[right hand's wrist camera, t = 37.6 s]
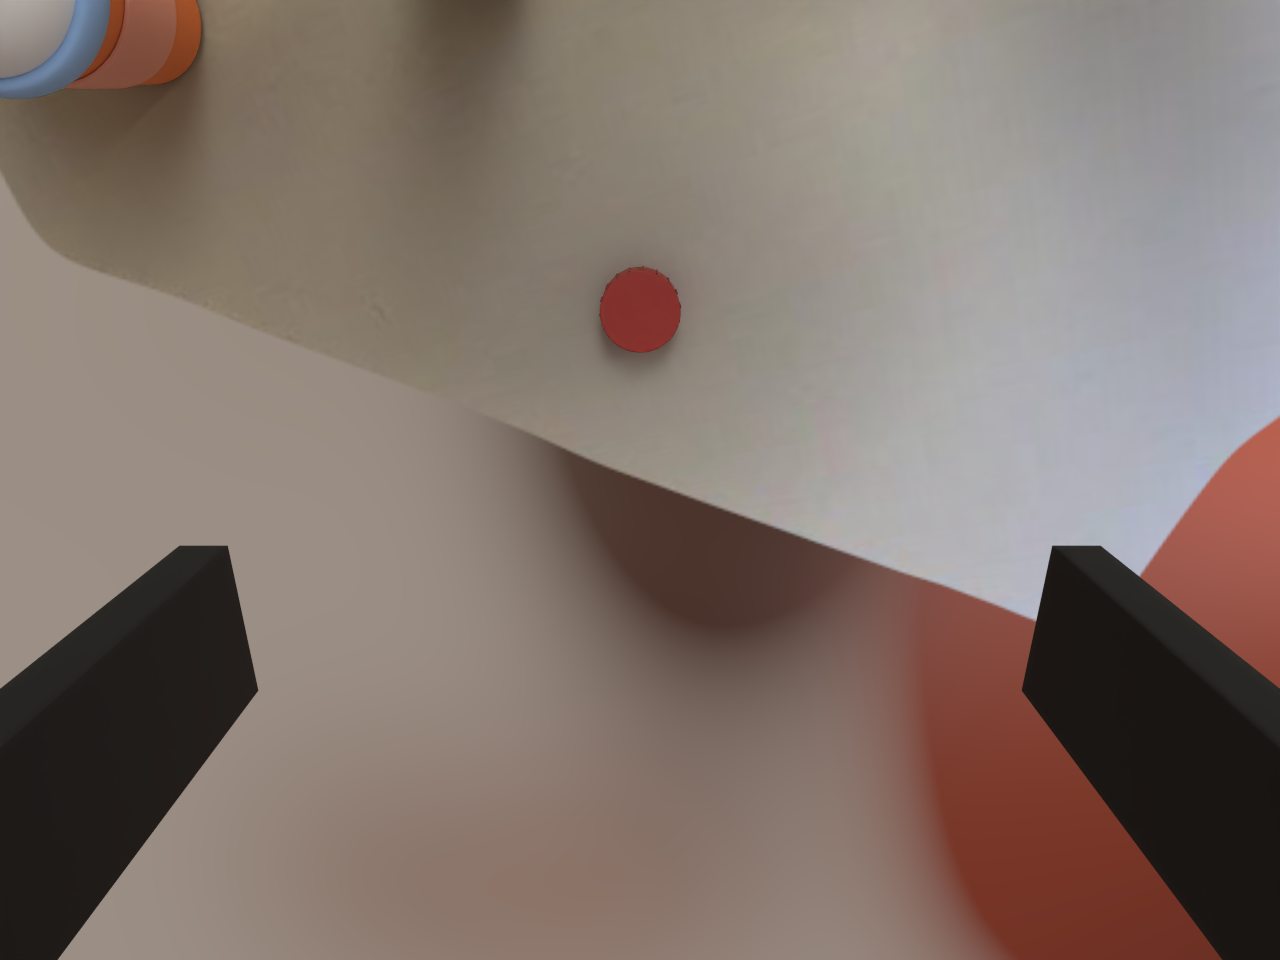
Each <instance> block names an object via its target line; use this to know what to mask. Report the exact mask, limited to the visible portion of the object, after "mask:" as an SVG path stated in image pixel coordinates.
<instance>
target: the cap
mask: <svg viewBox="0 0 1280 960" xmlns="http://www.w3.org/2000/svg"><path fill="white" fill-rule="evenodd" d="M677 294H678V293H677V290H676V289H674V287H673V285H672V284H671V282H670V281H669V278H666V277H665V276H664V275H663V274H661V273H659V272H658V270H653V269H650V268H644V266H643V267H636V268H631V269H630V268H629V269H627V270H625V271H623V272H621V273H619V274H616V276H615V277H614V278H613V279H612V280H611V282H610V283H609V284H607V286H606V289H605V292H604V295H603V296H602V297H601V301H600V302H601V306H600V317H601V322H602V326H603V329H604V330H605V332H606V334H607V335H608V337H609V338H610V339H611V340H612V341H613V342H614V343H615V344H616V345H618V346H619V347H621V348H623V349H625V350H628V351H631V352H649V351H653V350H655V349H658V348H659V347H661V346H663V345H664V344H665V343H667V342H668V341H669V340H670V339H671V337H672V336H673V335H674V333H675V331H676V329H677V327H678V324H679V322H680V308H681V305H680V302H679V299H678V296H677Z"/></svg>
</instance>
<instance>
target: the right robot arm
mask: <svg viewBox="0 0 1280 960" xmlns="http://www.w3.org/2000/svg"><path fill="white" fill-rule="evenodd" d="M257 691H258V687H257V682H256V678H255V673H254V668H253V663H252V659H251V654H250V649H249V644H248V640H247V635H246V630H245V626H244V621H243V616H242V611H241V607H240V602H239V597H238V593H237V588H236V583H235V578H234V574H233V569H232V564H231V559H230V555H229V550H228V546H179V547H177V548H176V549H175V550H174V551H172V552H171V553H170V554H169V555H167V556H166V557H165V558H164V559H162V560H161V561H160V562H159V563H157V564H156V565H155V566H154V567H152V568H151V569H150V570H149V571H147V572H146V573H145V574H144V575H142V576H141V577H140V578H139V579H137V580H136V581H135V582H134V583H132V584H131V585H130V586H128V587H127V588H126V589H125V590H124V591H122V592H121V593H120V594H118V595H117V596H116V597H115V598H113V599H112V600H111V601H110V602H108V603H107V604H106V605H105V606H103V607H102V608H101V609H100V610H98V611H97V612H96V613H95V614H93V615H92V616H91V617H90V618H88V619H87V620H86V621H85V622H83V623H82V624H81V625H80V626H78V627H77V628H76V629H75V630H73V631H72V632H71V633H70V634H68V635H67V636H66V637H65V638H63V639H62V640H61V641H60V642H58V643H57V644H56V645H55V646H53V647H52V648H51V649H50V650H48V651H47V652H46V653H45V654H43V655H42V656H41V657H39V658H38V659H37V660H36V661H34V662H33V663H32V664H31V665H29V666H28V667H27V668H26V669H24V670H23V671H22V672H21V673H19V674H18V675H17V676H16V677H14V678H13V679H12V680H11V681H9V682H8V683H7V684H6V685H4V686H3V687H2V688H1V689H0V960H58V958H59V957H60V956H61V954H62V953H63V952H64V950H65V949H66V948H67V946H68V945H69V944H70V942H71V941H72V940H73V938H74V937H75V936H76V934H77V933H78V932H79V930H80V929H81V928H82V926H83V925H84V924H85V922H86V921H87V920H88V918H89V917H90V915H91V914H92V913H93V911H94V910H95V909H96V907H97V906H98V905H99V903H100V902H101V901H102V899H103V898H104V897H105V895H106V894H107V893H108V891H109V890H110V889H111V887H112V886H113V885H114V883H115V882H116V881H117V879H118V878H119V877H120V875H121V874H122V873H123V871H124V870H125V869H126V867H127V866H128V864H129V863H130V862H131V860H132V859H133V858H134V856H135V855H136V854H137V852H138V851H139V850H140V848H141V847H142V846H143V844H144V843H145V842H146V840H147V839H148V838H149V836H150V835H151V834H152V832H153V831H154V830H155V828H156V827H157V826H158V824H159V823H160V822H161V820H162V819H163V817H164V816H165V815H166V814H167V812H168V811H169V809H170V808H171V807H172V805H173V804H174V803H175V801H176V800H177V799H178V797H179V796H180V795H181V793H182V792H183V791H184V789H185V788H186V787H187V785H188V784H189V783H190V781H191V780H192V779H193V777H194V776H195V775H196V773H197V772H198V771H199V769H200V768H201V766H202V765H203V764H204V763H205V761H206V760H207V759H208V757H209V756H210V755H211V753H212V752H213V750H214V749H215V748H216V746H217V745H218V744H219V742H220V741H221V740H222V738H223V737H224V736H225V734H226V733H227V732H228V730H229V729H230V728H231V726H232V725H233V724H234V722H235V721H236V720H237V718H238V717H239V716H240V714H241V713H242V712H243V710H244V709H245V708H246V706H247V705H248V704H249V702H250V701H251V700H252V698H253V697H254V696H255V694H256V693H257ZM1022 691H1023V693H1024V694H1025V695H1026V697H1027V698H1028V699H1029V701H1030V702H1031V704H1032V705H1033V706H1034V708H1035V709H1036V710H1037V712H1038V713H1039V714H1040V716H1041V717H1042V718H1043V720H1044V721H1045V722H1046V723H1047V725H1048V726H1049V728H1050V729H1051V730H1052V732H1053V733H1054V734H1055V736H1056V737H1057V738H1058V740H1059V741H1060V742H1061V744H1062V745H1063V746H1064V748H1065V749H1066V750H1067V752H1068V753H1069V755H1070V756H1071V757H1072V759H1073V760H1074V761H1075V762H1076V764H1077V765H1078V766H1079V768H1080V769H1081V771H1082V772H1083V773H1084V775H1085V776H1086V777H1087V779H1088V780H1089V781H1090V783H1091V784H1092V785H1093V787H1094V788H1095V789H1096V791H1097V792H1098V793H1099V795H1100V796H1101V797H1102V799H1103V800H1104V801H1105V803H1106V804H1107V805H1108V807H1109V808H1110V810H1111V811H1112V812H1113V814H1114V815H1115V816H1116V818H1117V819H1118V820H1119V822H1120V823H1121V824H1122V826H1123V827H1124V828H1125V830H1126V831H1127V832H1128V834H1129V835H1130V836H1131V838H1132V839H1133V840H1134V842H1135V843H1136V844H1137V846H1138V847H1139V848H1140V850H1141V851H1142V852H1143V854H1144V855H1145V856H1146V858H1147V859H1148V860H1149V862H1150V863H1151V865H1152V866H1153V867H1154V868H1155V870H1156V871H1157V873H1158V874H1159V875H1160V876H1161V878H1162V879H1163V881H1164V882H1165V883H1166V885H1167V886H1168V887H1169V889H1170V890H1171V891H1172V893H1173V894H1174V895H1175V897H1176V898H1177V899H1178V901H1179V902H1180V903H1181V905H1182V906H1183V907H1184V909H1185V910H1186V911H1187V913H1188V914H1189V915H1190V917H1191V918H1192V919H1193V921H1194V922H1195V924H1196V925H1197V926H1198V927H1199V929H1200V930H1201V932H1202V933H1203V934H1204V936H1205V937H1206V938H1207V940H1208V941H1209V942H1210V944H1211V945H1212V946H1213V948H1214V949H1215V950H1216V952H1217V953H1218V954H1219V956H1220V957H1221V958H1222V960H1280V689H1279V688H1278V687H1277V686H1276V685H1274V684H1273V683H1272V682H1271V681H1269V680H1268V679H1267V678H1266V677H1264V676H1263V675H1262V674H1260V673H1259V672H1258V671H1257V670H1256V669H1254V668H1253V667H1252V666H1251V665H1249V664H1248V663H1247V662H1246V661H1244V660H1243V659H1242V658H1241V657H1239V656H1238V655H1237V654H1235V653H1234V652H1233V651H1232V650H1230V649H1229V648H1228V647H1227V646H1225V645H1224V644H1223V643H1222V642H1220V641H1219V640H1218V639H1217V638H1215V637H1214V636H1213V635H1212V634H1210V633H1209V632H1208V631H1207V630H1205V629H1204V628H1203V627H1202V626H1200V625H1199V624H1198V623H1197V622H1195V621H1194V620H1193V619H1192V618H1190V617H1189V616H1188V615H1187V614H1185V613H1184V612H1183V611H1182V610H1180V609H1179V608H1178V607H1177V606H1175V605H1174V604H1173V603H1172V602H1170V601H1169V600H1168V599H1166V598H1165V597H1164V596H1163V595H1162V594H1160V593H1159V592H1158V591H1157V590H1155V589H1154V588H1153V587H1152V586H1150V585H1149V584H1148V583H1146V582H1145V581H1144V580H1143V579H1141V578H1140V577H1139V576H1138V575H1136V574H1135V573H1134V572H1133V571H1131V570H1130V569H1129V568H1128V567H1126V566H1125V565H1124V564H1123V563H1121V562H1120V561H1119V560H1118V559H1116V558H1115V557H1114V556H1113V555H1111V554H1110V553H1109V552H1108V551H1106V550H1105V549H1104V548H1103V547H1101V546H1052V550H1051V555H1050V559H1049V564H1048V569H1047V573H1046V578H1045V583H1044V588H1043V592H1042V597H1041V602H1040V607H1039V611H1038V616H1037V621H1036V626H1035V630H1034V635H1033V640H1032V645H1031V649H1030V654H1029V659H1028V663H1027V668H1026V673H1025V678H1024V682H1023V687H1022Z"/></svg>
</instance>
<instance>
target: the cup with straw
mask: <svg viewBox="0 0 1280 960" xmlns="http://www.w3.org/2000/svg"><path fill="white" fill-rule="evenodd" d="M200 40H201V18H200V13H199V8H198V5H197V2H196V0H0V98H7V99H28V98H36V97H40V96H44V95H48V94H51V93H54V92H56V91H59V90H61V89H62V88H71V89H121V88H128V87H133V86H135V85H156V84H162V83H166V82H169V81H171V80H173V79H175V78H177V77H179V76H180V75H181V74H183V73H184V72H185V71H186V70H187V69H188V68H189V66H190V65H191V64H192V62H193V60H194V59H195V57H196V54H197V52H198V49H199V45H200Z"/></svg>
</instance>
